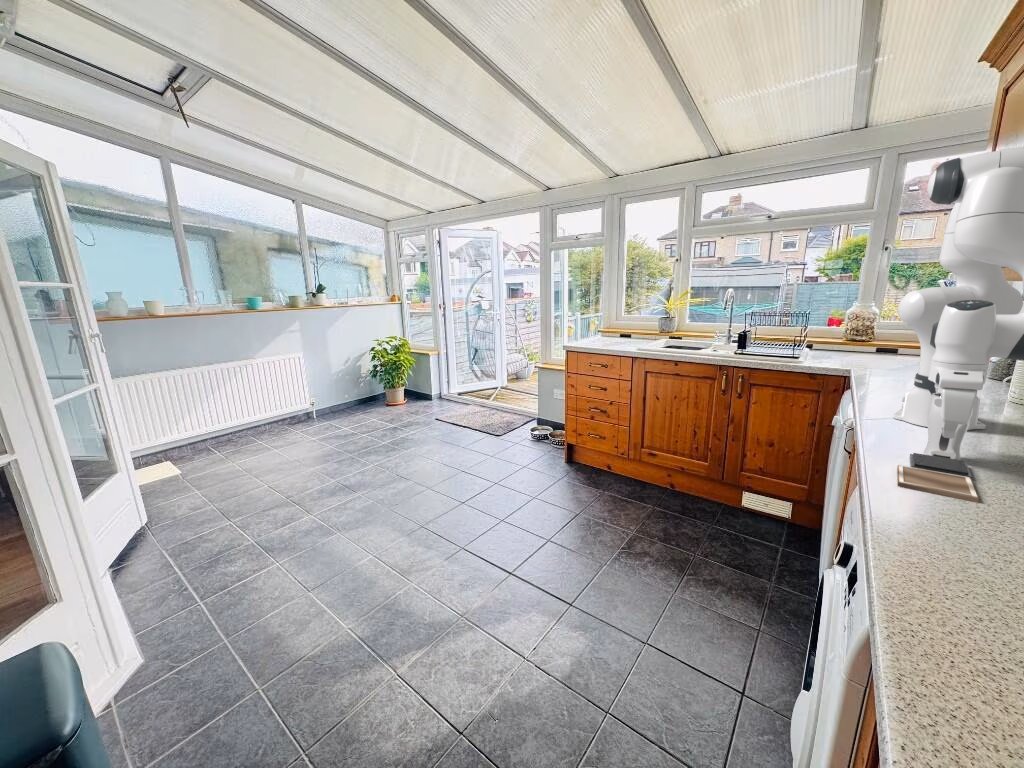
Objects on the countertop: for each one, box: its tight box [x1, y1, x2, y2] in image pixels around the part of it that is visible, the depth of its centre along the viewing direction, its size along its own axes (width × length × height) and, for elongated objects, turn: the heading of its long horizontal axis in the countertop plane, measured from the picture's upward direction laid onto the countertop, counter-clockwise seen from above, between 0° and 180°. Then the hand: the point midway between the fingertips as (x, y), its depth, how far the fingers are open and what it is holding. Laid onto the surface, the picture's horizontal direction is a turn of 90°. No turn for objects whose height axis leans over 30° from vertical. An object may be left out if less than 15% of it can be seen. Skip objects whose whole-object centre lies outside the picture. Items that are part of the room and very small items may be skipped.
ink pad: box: [909, 452, 973, 480], centre depth 91 cm, size 9×9×2 cm
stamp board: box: [896, 464, 980, 503], centre depth 84 cm, size 11×11×1 cm
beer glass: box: [922, 393, 973, 460], centre depth 95 cm, size 7×7×15 cm
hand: (946, 432), depth 95 cm, fingers closed on beer glass, 6 cm apart
